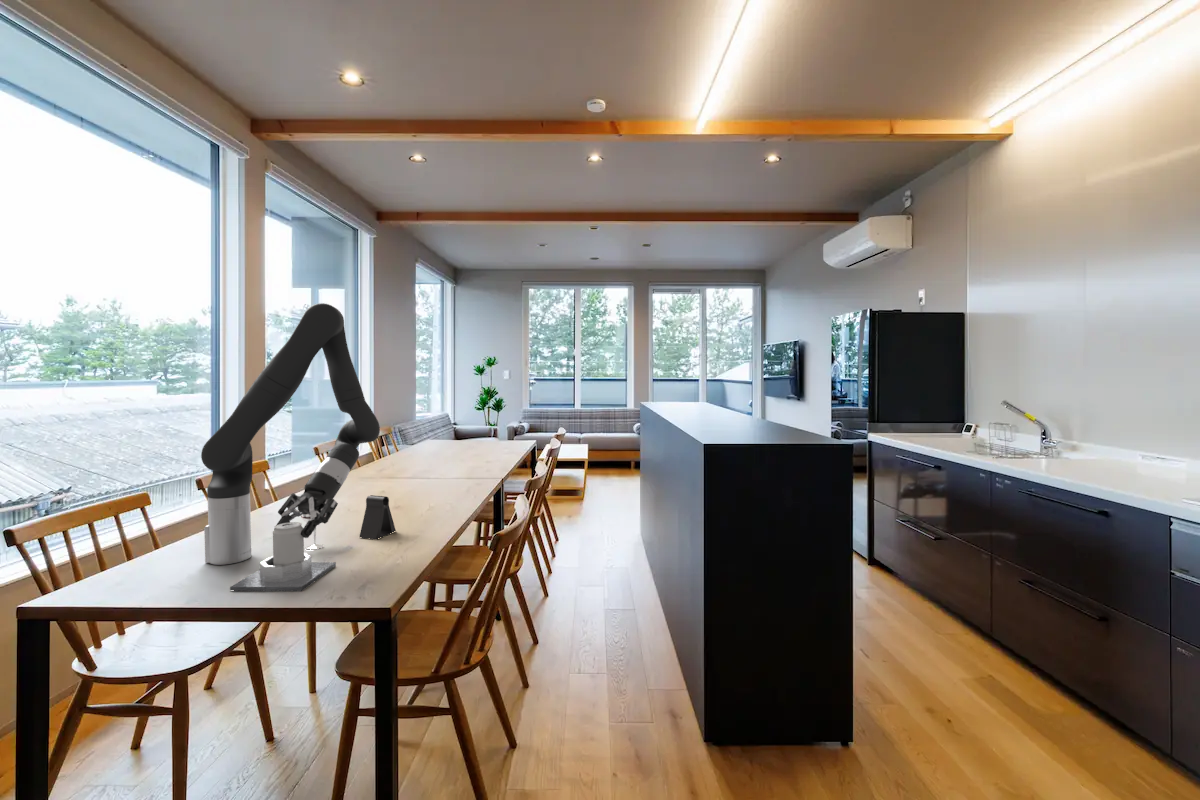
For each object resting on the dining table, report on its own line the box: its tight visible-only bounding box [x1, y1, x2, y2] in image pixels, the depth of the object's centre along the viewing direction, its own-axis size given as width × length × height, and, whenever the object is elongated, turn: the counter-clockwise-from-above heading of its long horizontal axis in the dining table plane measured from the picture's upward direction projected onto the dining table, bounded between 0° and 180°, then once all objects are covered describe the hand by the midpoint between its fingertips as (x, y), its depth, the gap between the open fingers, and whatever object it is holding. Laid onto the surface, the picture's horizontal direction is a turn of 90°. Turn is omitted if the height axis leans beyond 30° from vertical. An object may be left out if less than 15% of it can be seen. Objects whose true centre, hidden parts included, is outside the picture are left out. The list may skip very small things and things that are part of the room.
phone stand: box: [359, 495, 397, 540], centre depth 164 cm, size 9×6×12 cm, turn 162°
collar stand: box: [229, 552, 337, 592], centre depth 129 cm, size 16×16×4 cm
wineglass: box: [300, 513, 326, 551], centre depth 152 cm, size 7×7×12 cm
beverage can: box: [272, 521, 305, 565], centre depth 128 cm, size 6×6×12 cm
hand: (290, 534), depth 130 cm, fingers open, 8 cm apart
